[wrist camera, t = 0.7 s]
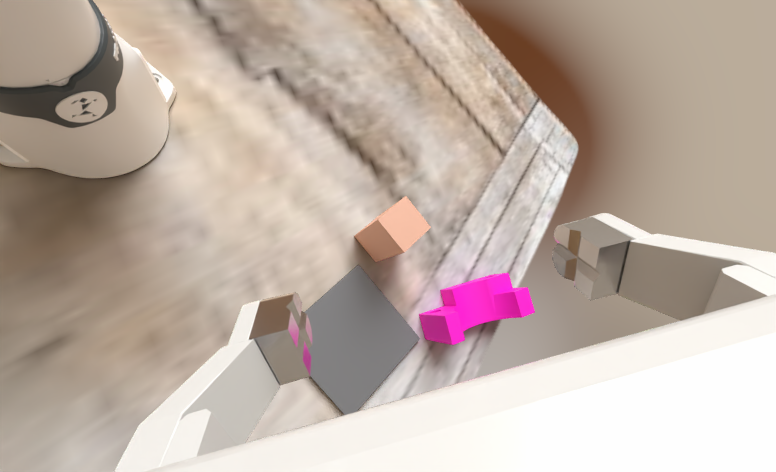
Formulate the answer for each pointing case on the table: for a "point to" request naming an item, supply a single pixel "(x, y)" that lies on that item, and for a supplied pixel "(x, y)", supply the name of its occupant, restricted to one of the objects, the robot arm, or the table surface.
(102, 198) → the table surface
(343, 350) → the mat
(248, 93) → the table surface
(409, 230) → the pillar block
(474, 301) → the toy block
